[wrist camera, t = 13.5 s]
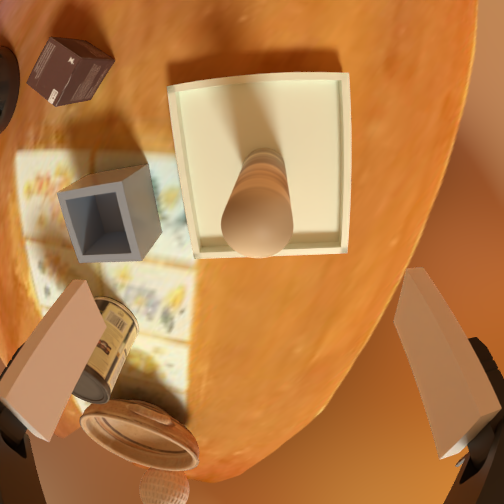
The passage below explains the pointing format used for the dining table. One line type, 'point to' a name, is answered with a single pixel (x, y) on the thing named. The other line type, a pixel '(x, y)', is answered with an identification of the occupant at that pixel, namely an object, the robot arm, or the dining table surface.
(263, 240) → the dowel
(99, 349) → the coffee can
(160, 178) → the dining table surface
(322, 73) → the tray
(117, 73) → the dining table surface
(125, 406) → the ceramic bowl
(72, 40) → the box
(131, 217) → the grey square bin
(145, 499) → the vase
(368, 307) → the dining table surface
